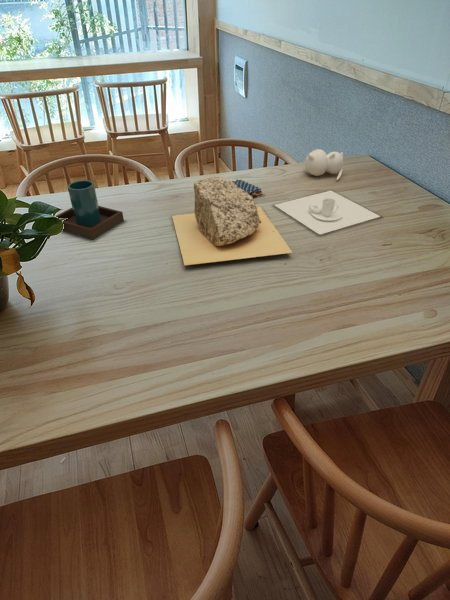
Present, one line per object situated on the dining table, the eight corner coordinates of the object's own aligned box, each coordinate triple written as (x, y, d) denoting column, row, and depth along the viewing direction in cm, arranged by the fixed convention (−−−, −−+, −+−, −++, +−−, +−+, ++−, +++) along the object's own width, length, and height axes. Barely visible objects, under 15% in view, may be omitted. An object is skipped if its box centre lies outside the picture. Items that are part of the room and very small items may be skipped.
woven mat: (236, 204, 123) (236, 197, 122) (212, 193, 130) (212, 186, 129) (264, 195, 129) (264, 188, 127) (240, 184, 135) (240, 177, 134)
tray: (52, 227, 114) (50, 218, 112) (85, 210, 122) (83, 201, 120) (92, 239, 108) (90, 230, 107) (124, 220, 116) (122, 211, 115)
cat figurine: (345, 142, 136) (306, 142, 135) (351, 171, 133) (312, 171, 131) (336, 161, 145) (300, 161, 143) (342, 188, 141) (305, 189, 140)
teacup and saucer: (303, 211, 119) (304, 197, 117) (327, 205, 122) (329, 191, 120) (324, 224, 113) (326, 209, 110) (348, 217, 116) (351, 203, 113)
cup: (71, 224, 114) (62, 187, 108) (88, 215, 118) (80, 178, 112) (89, 229, 111) (81, 191, 105) (106, 220, 116) (99, 182, 110)
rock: (169, 214, 118) (197, 158, 112) (238, 244, 127) (268, 193, 120) (181, 264, 95) (217, 197, 89) (264, 296, 104) (303, 236, 97)
